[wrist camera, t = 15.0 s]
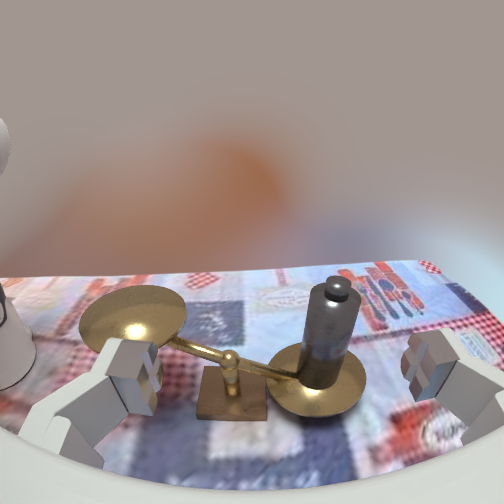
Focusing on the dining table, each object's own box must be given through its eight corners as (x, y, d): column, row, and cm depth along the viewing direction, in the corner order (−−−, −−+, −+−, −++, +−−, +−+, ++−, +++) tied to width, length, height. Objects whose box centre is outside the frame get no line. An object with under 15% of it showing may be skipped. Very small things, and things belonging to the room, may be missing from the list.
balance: (103, 418, 28) (60, 344, 22) (129, 356, 39) (105, 284, 33) (369, 423, 27) (403, 347, 22) (347, 356, 38) (364, 281, 33)
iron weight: (298, 390, 29) (318, 296, 24) (294, 359, 33) (308, 268, 28) (341, 388, 29) (372, 296, 24) (333, 358, 33) (355, 269, 28)
